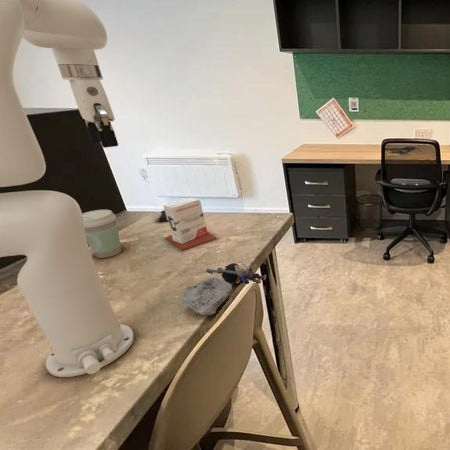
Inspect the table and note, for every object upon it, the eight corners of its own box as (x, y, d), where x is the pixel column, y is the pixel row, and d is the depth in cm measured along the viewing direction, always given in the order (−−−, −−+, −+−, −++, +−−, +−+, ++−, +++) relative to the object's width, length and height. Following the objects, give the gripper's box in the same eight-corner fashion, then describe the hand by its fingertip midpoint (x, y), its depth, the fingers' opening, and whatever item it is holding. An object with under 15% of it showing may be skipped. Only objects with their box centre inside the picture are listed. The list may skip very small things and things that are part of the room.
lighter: (178, 211, 125) (163, 215, 125) (175, 206, 124) (160, 210, 124) (173, 220, 119) (157, 225, 118) (170, 215, 118) (154, 220, 117)
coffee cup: (88, 252, 98) (72, 213, 93) (124, 243, 103) (112, 206, 98) (91, 263, 92) (74, 223, 87) (129, 253, 98) (116, 215, 93)
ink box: (198, 230, 111) (190, 196, 106) (208, 233, 109) (200, 199, 104) (172, 240, 104) (162, 204, 100) (182, 244, 102) (172, 208, 97)
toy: (262, 258, 83) (208, 250, 86) (252, 282, 80) (196, 273, 83) (272, 267, 88) (220, 259, 91) (262, 291, 85) (209, 281, 88)
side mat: (216, 239, 107) (216, 237, 107) (182, 250, 100) (181, 248, 100) (199, 228, 114) (198, 226, 114) (166, 238, 107) (165, 236, 107)
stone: (214, 261, 78) (216, 288, 71) (236, 277, 83) (239, 304, 75) (180, 286, 77) (178, 316, 70) (203, 301, 82) (203, 331, 74)
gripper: (111, 74, 81) (133, 146, 88) (91, 72, 90) (112, 137, 97) (69, 73, 75) (96, 151, 82) (52, 72, 85) (78, 141, 92)
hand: (105, 143), depth 90 cm, fingers open, 9 cm apart
